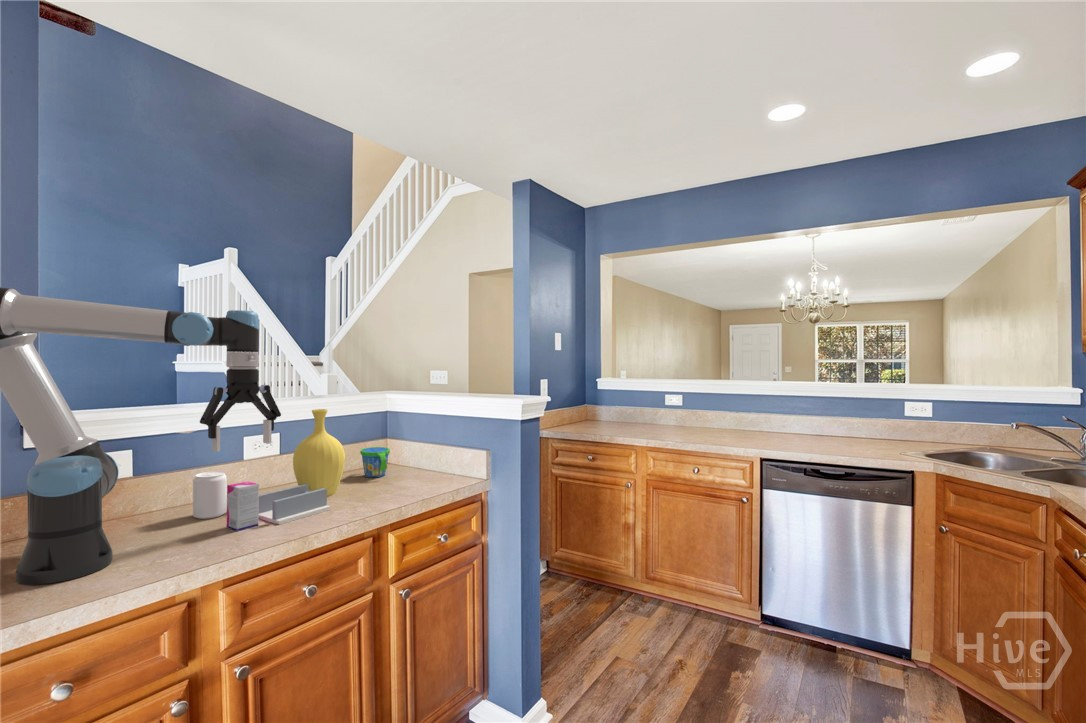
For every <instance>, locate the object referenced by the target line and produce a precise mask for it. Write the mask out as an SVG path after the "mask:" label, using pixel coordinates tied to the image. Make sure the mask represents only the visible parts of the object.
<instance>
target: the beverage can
mask: <svg viewBox="0 0 1086 723" xmlns="http://www.w3.org/2000/svg"><path fill="white" fill-rule="evenodd" d="M194 476H195V477H194V478H193V479H192V517H194V518H196V519H200V520H209V519H214V518H215V519H216V518H218V517H221V516H223V515H224V514H227V485H228V483H227V482H228V481H227V475H226V474H225V471H221V470H220V471H219V470H212V471H210V470H209V471H205V472H204V471H203V472H199V473H197V474H195V475H194Z"/></svg>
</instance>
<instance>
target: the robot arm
mask: <svg viewBox="0 0 1086 723" xmlns="http://www.w3.org/2000/svg"><path fill="white" fill-rule="evenodd" d="M259 319H260V318H259V314H258V313H257V312H255V311H251V310H238V309H237V310H235V309H230V310H228V311H227V312H226V315H225V317H224V316H223V317H221V316H220V317H213V316H206V315H205V314H202V313H199V312H192V311H189V312H183V311H176V310H175V311H173V310H172V311H171V310H166V309H158V308H157V309H156V308H155V309H154V308H147V307H137V306H127V305H121V304H120V305H119V304H110V303H102V302H101V303H100V302H90V301H85V300H84V301H82V300H73V299H65V298H63V299H62V298H56V297H55V298H54V297H45V296H36V295H26V294H21V293H20V292H18V291H17V290H16V289H15V288H8V287H7V288H6V287H1V286H0V391H1V392H2V394H3V397H4V398H5V400H6V401H7V402H8V404H9V405H10V408H11V409H12V411H13V413H14V414H15V415H16V416H15V417H16V418H17V419H18V421H19V423H20V424H21V426H22V427H23V429H24V431H25V433H26V435H27V436H28V437H29V440H30V442H32V444H33V446H34V447H35V450H36V451H37V453H38V456H37V459H36V460H35V462H34V465H33V466H32V467H31V468H30V469H29V471H28V473H27V480H26V485H25V486H26V490H27V495H26V496H27V542H26V544H25V547H24V550H23V552H22V554H21V556H20V559H19V561H18V563H17V566H16V568H15V580H16V583H18V584H22V585H29V586H30V585H32V586H33V585H47V584H48V585H49V584H54V583H59V582H65V581H69V580H74V579H78V578H82V577H83V576H87V575H90V574H93V573H95V572H98V571H101V570H103V569H104V568H107V566H109V565H110V564H111V563H112V562H113V549H112V547H111V544H110V542H109V541H108V540H109V539H108V538H107V536H106V533H105V532H104V529H103V498H104V497H106V495H108V494H109V493H110V492H111V491H112V490H113V489H114V487H115V486H116V483H117V481H118V478H119V473H120V472H119V470H120V469H119V466H118V463H117V462H116V460H115V459H114V457H112V456H111V455H110V454H108V453H106V452H105V451H104V449H103V448H102V445H101V443H100V442H99V440H98V439H97V438H92V437H88V436H86V434H85V432H84V430H83V429H82V427H81V425H80V424H79V422H78V420H77V419H76V417H75V415H74V413H73V411H72V410H71V408H70V407H69V404H68V403H67V401H66V400H65V398H64V396H63V394H62V392H61V391H60V389H59V387H58V386H57V385H58V384H56V382H55V380H54V379H53V376H52V375H51V374H50V372H49V370H48V368H47V366H46V364H45V363H44V361H43V359H42V358H41V355H40V353H39V352H38V350H37V349H36V347H35V345H34V342H35V340H36V338H37V337H38V334H37V333H40V334H49V335H51V334H52V335H66V336H77V337H78V336H79V337H89V338H91V337H92V338H103V339H112V340H113V339H116V340H126V341H140V342H152V343H154V342H155V343H164V344H166V343H167V344H173V345H174V346H185V347H186V346H187V347H190V346H192V347H193V346H195V347H196V346H199V347H200V346H202V347H203V346H204V347H205V346H208V347H209V346H210V347H211V346H212V347H215V346H218V347H219V346H220V347H222V346H224V347H225V346H226V362H225V364H226V367H227V369H226V375H225V376H226V378H225V380H226V387H220V386H219V387H218V386H215V387H213V391H212V396H211V398H210V399H209V402H208V404H207V406H206V408H205V410H204V412H203V413H202V416H201V417H200V419H199V424H202V425H206V426H207V433H208V434H207V436H208V437H207V438H208V439H211V451H213V452H221V425H218V424H219V423H220V421H221V420H222V419H223V418H224V416H226V414H227V413H229V412H228V411H230V410H231V408H232V407H233V406H235V405H236V404H243V403H249V404H250V403H252V404H253V405H254V407H256V409H257V410H258V411H259V412H260V413H261V414H262V415H263V416H264V417H265V419H263V420H262V421H263V422H262V427H263V428H262V431H263V433H262V443H263V444H268V445H269V444H272V432H273V431H274V430H275V421H276V420H277V418H278V417H281V416H282V413H281V411H280V409H279V406H278V405H277V403H276V401H275V399H274V397H273V395H272V393H271V387H270V385H269V384H261V385H259V381H260V378H259V376H260V373H259V372H260V370H259V369H258V367H259V366H260V364H259V362H260V361H259V360H260V359H259V356H260V355H259V354H260V353H259V352H260V323H259ZM259 393H260V394H261V396H262V397H263V400H264V402H265V403H266V404H265V403H264V402H263V401H262V399H261V398H260V397H259V396H258V394H259ZM225 394H226V395H227V397H226V398H225V399H224V401H223V403H222V404H221V401H222V399H223V396H225ZM220 404H221V405H220ZM219 405H220V407H219ZM266 405H267V406H266ZM218 407H219V408H218Z"/></svg>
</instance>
